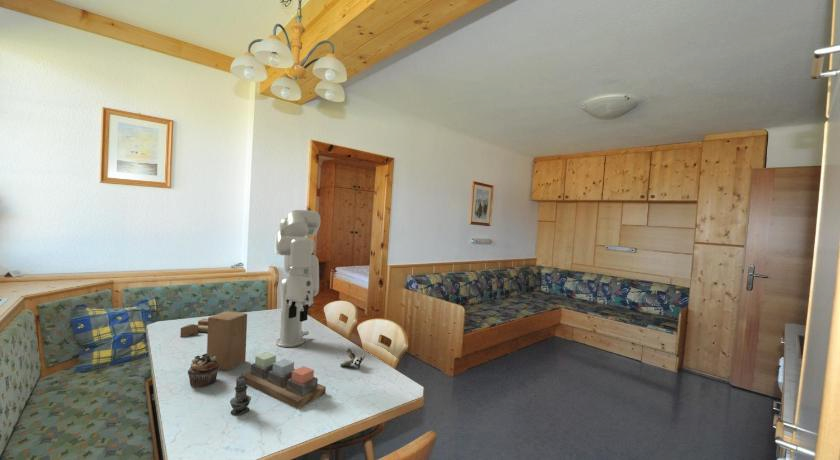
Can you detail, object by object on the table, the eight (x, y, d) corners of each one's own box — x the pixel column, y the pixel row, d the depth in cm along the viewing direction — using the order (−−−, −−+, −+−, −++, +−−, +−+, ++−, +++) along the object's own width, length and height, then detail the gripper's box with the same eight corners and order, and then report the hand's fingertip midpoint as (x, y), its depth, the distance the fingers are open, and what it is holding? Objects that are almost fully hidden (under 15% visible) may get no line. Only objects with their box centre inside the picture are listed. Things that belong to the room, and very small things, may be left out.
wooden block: (227, 371, 134) (229, 319, 133) (205, 367, 136) (207, 317, 135) (245, 361, 143) (247, 313, 143) (224, 357, 145) (226, 310, 145)
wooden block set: (202, 316, 182) (235, 318, 182) (201, 326, 182) (235, 329, 182) (178, 325, 165) (215, 328, 165) (178, 337, 165) (215, 340, 165)
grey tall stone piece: (234, 405, 111) (236, 368, 110) (253, 406, 111) (255, 369, 111) (225, 416, 105) (227, 377, 104) (246, 416, 105) (247, 377, 105)
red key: (303, 377, 122) (303, 366, 122) (313, 381, 119) (313, 369, 119) (291, 382, 118) (291, 371, 117) (301, 387, 115) (302, 375, 115)
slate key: (284, 369, 127) (284, 358, 127) (293, 373, 124) (294, 362, 124) (272, 374, 123) (272, 363, 122) (281, 378, 120) (282, 367, 120)
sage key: (267, 362, 132) (267, 352, 132) (275, 365, 129) (276, 355, 129) (254, 366, 128) (255, 356, 128) (263, 370, 125) (264, 359, 125)
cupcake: (225, 378, 128) (226, 352, 127) (202, 391, 118) (203, 362, 118) (204, 374, 130) (205, 348, 130) (180, 386, 121) (181, 357, 121)
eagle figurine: (366, 360, 148) (348, 353, 151) (365, 350, 144) (346, 343, 146) (356, 376, 142) (338, 368, 145) (355, 366, 138) (336, 358, 141)
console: (270, 370, 136) (271, 355, 136) (325, 393, 121) (326, 376, 121) (241, 381, 126) (241, 365, 126) (297, 409, 111) (298, 390, 111)
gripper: (323, 273, 130) (321, 321, 130) (292, 267, 138) (290, 312, 139) (308, 275, 123) (305, 326, 124) (276, 269, 132) (274, 316, 132)
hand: (297, 318), depth 131 cm, fingers open, 5 cm apart
